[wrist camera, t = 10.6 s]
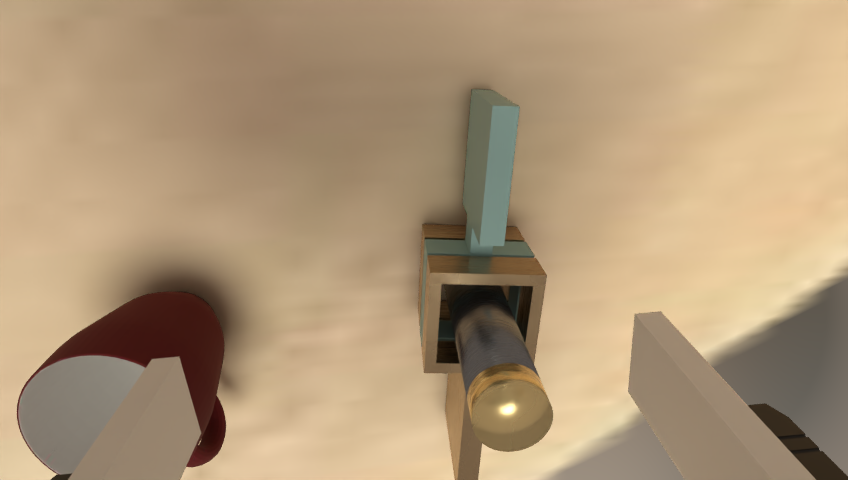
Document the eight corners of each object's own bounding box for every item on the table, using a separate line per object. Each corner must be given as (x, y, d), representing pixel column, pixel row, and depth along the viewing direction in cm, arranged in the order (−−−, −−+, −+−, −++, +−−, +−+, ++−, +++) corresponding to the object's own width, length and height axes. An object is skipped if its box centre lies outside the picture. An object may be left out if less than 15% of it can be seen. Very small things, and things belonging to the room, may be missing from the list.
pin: (442, 245, 34) (475, 385, 21) (494, 246, 34) (558, 386, 21) (439, 291, 35) (469, 451, 22) (489, 292, 35) (546, 451, 22)
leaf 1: (507, 312, 35) (532, 373, 29) (418, 311, 35) (424, 372, 29) (534, 91, 30) (570, 108, 24) (430, 86, 30) (440, 103, 24)
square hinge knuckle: (422, 224, 33) (429, 272, 27) (516, 226, 34) (546, 275, 27) (412, 411, 38) (416, 490, 32) (494, 411, 39) (515, 489, 32)
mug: (297, 363, 36) (265, 480, 27) (199, 417, 37) (136, 547, 28) (193, 237, 33) (115, 322, 23) (89, 301, 34) (-25, 406, 24)
